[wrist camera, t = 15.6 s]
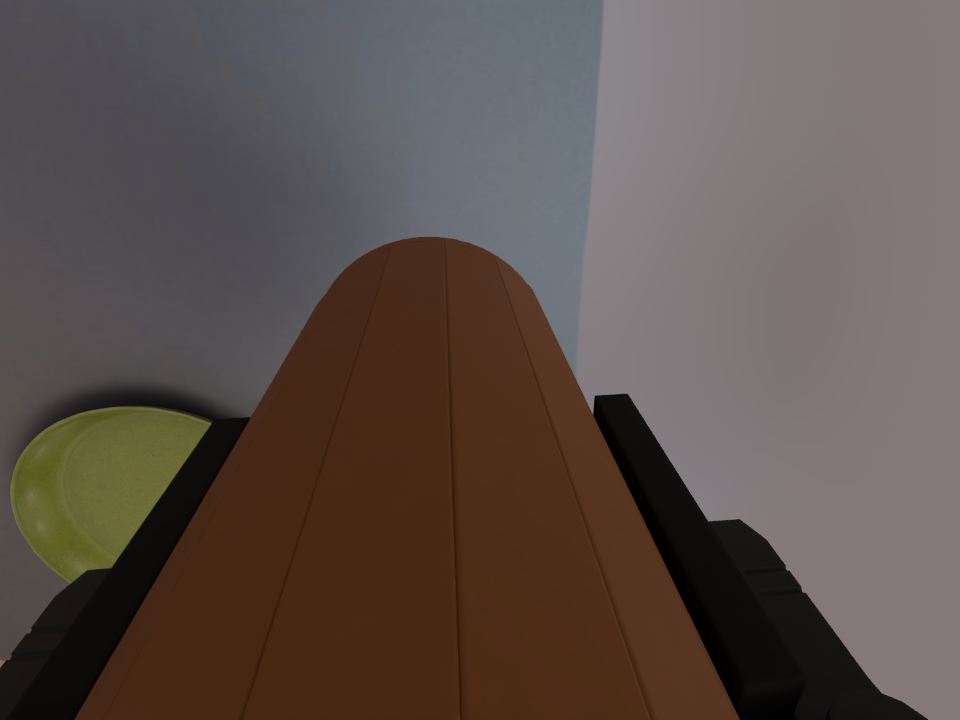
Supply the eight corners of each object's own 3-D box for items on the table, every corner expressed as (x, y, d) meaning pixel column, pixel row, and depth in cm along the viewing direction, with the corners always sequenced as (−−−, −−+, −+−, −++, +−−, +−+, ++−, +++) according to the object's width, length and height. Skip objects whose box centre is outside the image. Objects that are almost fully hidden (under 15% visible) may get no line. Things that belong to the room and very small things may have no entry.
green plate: (298, 385, 39) (287, 407, 36) (322, 583, 48) (315, 613, 45) (-3, 384, 37) (-40, 408, 34) (81, 590, 46) (58, 622, 43)
